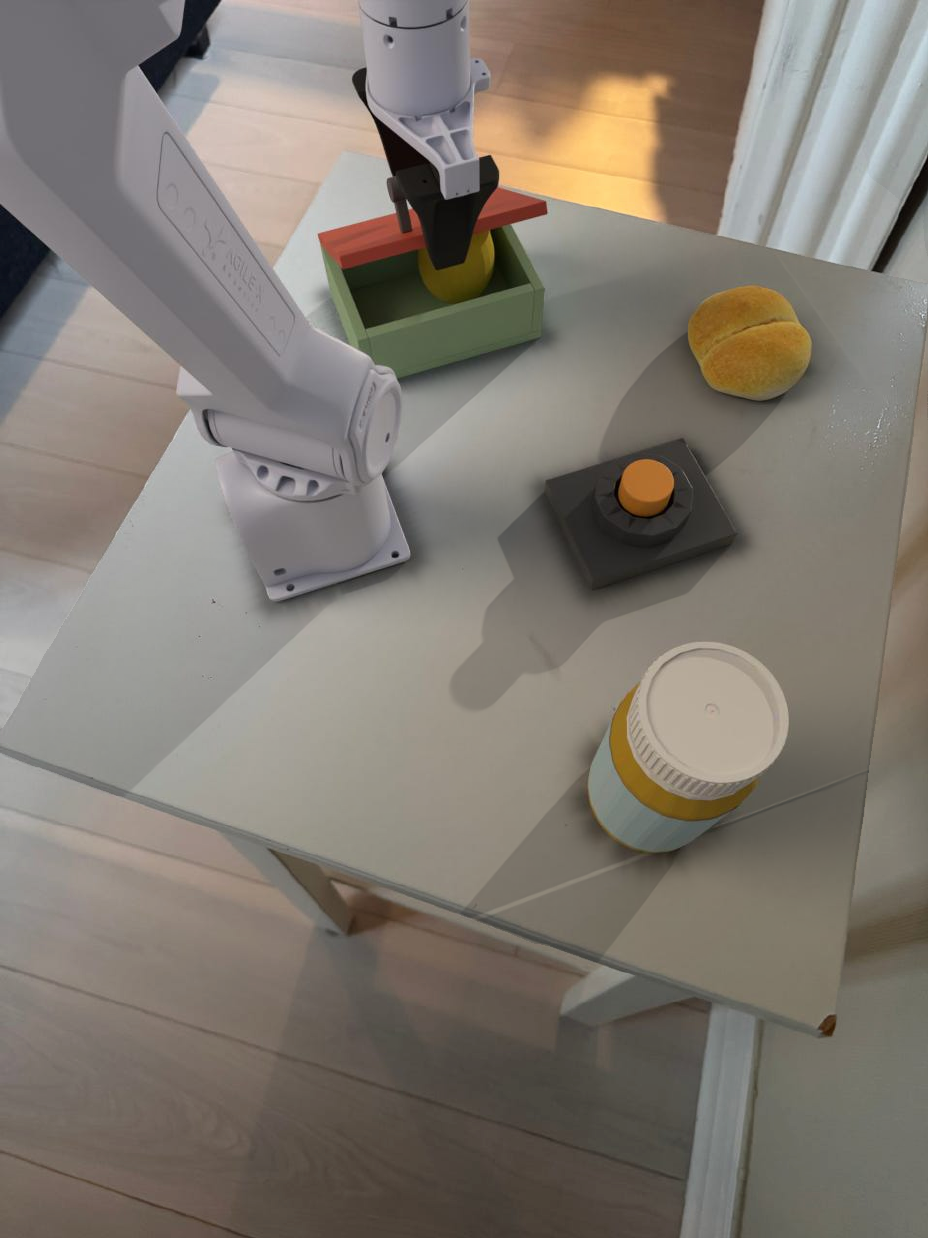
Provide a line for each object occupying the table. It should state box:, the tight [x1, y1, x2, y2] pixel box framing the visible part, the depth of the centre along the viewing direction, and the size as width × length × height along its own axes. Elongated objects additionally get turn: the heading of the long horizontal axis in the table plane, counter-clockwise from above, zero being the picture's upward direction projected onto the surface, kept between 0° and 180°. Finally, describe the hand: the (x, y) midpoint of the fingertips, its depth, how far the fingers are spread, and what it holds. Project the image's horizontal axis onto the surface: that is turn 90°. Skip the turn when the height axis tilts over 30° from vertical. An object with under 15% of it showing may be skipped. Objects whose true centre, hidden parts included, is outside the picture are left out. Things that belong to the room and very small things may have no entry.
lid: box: [317, 176, 549, 269], centre depth 55 cm, size 10×14×4 cm
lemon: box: [418, 230, 495, 304], centre depth 60 cm, size 6×6×8 cm
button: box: [618, 459, 674, 517], centre depth 52 cm, size 3×3×2 cm
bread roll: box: [687, 285, 813, 402], centre depth 59 cm, size 8×9×4 cm
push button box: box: [544, 437, 738, 591], centre depth 54 cm, size 10×8×3 cm
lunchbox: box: [319, 224, 546, 380], centre depth 61 cm, size 10×14×5 cm
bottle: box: [586, 641, 790, 854], centre depth 41 cm, size 7×7×15 cm
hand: (429, 222), depth 55 cm, fingers open, 7 cm apart
